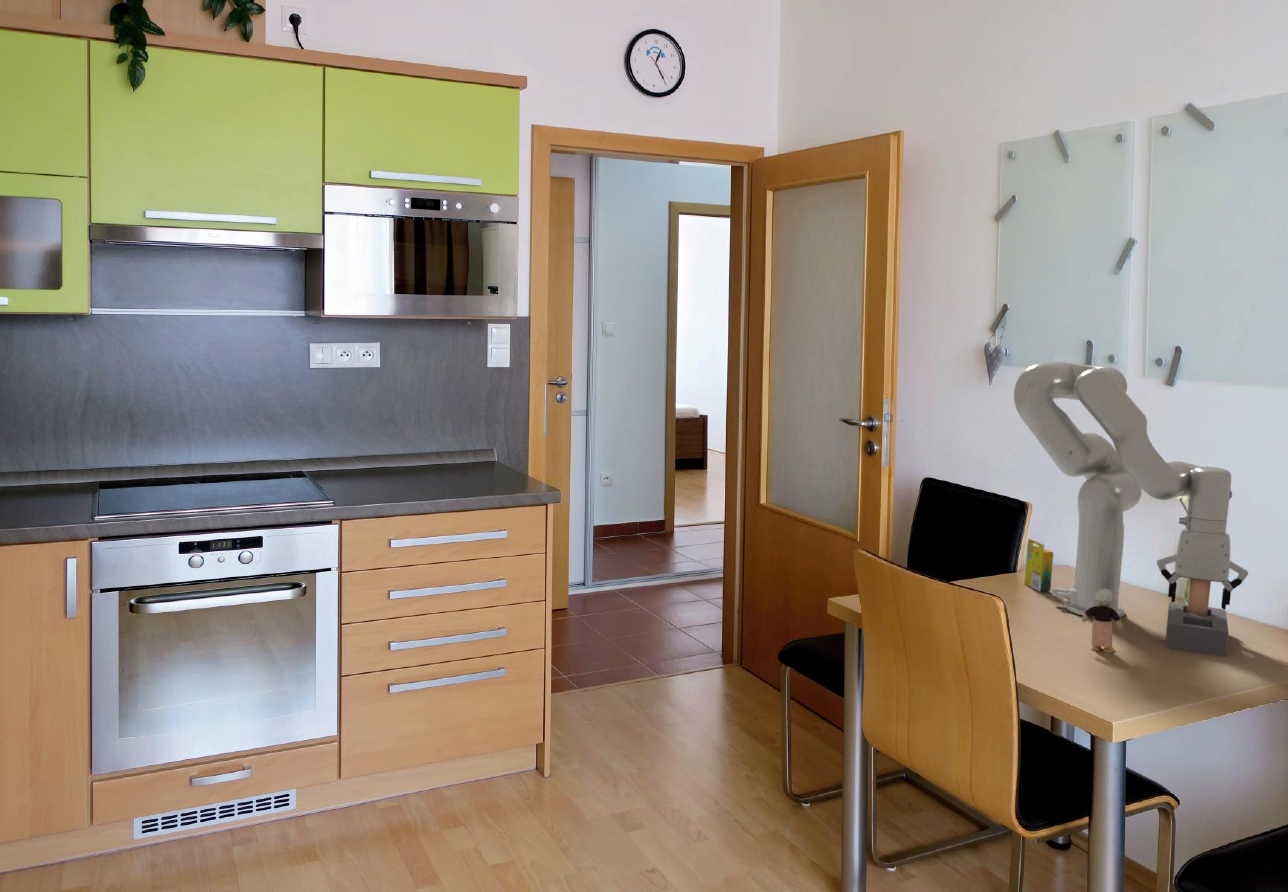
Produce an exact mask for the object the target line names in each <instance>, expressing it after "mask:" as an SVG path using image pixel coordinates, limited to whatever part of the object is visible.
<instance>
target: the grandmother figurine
mask: <svg viewBox="0 0 1288 892" xmlns="http://www.w3.org/2000/svg"><path fill="white" fill-rule="evenodd" d="M1095 599H1096V600H1097V601H1098V603H1099V604H1100V605H1101V606H1093V607H1091V608H1089V609H1088V610H1087V611H1085V614H1084V616H1083V615H1082V617H1081V621H1082V623H1086V622H1087V621H1088V619H1089V618H1093V621H1092V629H1091V645H1090V649H1091V651H1092V652H1093V651H1094V652H1101V650H1102V652H1103V653H1106V654H1110V653H1111V654H1113V653H1114V652H1115V648H1114V646H1113V630H1114V629H1113V622H1112V620H1113V621H1114V622H1115V624H1116V627H1117V629H1119V630H1122V629H1124V628H1123V627H1124V625H1123V624H1122V619H1121V618H1122V617H1119V615H1118V614H1117V612H1116V611H1115V610H1114V609H1112V608H1110V607H1107V606H1109V605H1110V604H1111V602H1112V599H1113V593H1112V591H1111V590H1109V589H1102V590H1100V591H1098V593H1097V594H1096V596H1095ZM1094 617H1095V618H1094ZM1102 647H1104V649H1102Z"/></svg>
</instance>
